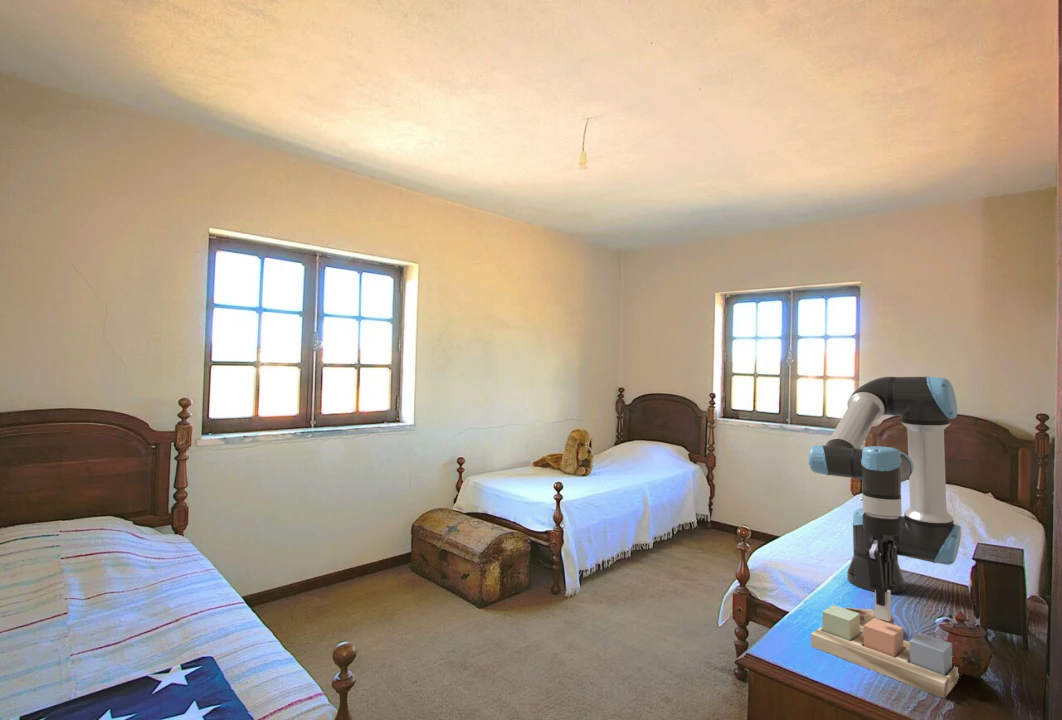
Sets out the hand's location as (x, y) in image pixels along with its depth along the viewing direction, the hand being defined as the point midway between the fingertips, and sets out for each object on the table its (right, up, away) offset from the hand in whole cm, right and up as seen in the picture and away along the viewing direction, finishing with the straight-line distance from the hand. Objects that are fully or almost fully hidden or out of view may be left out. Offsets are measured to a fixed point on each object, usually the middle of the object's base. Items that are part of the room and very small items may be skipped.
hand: (883, 618), depth 122 cm
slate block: (+6, -7, -7) cm, 11 cm away
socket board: (0, -10, 0) cm, 10 cm away
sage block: (-5, -7, +7) cm, 11 cm away
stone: (+7, -10, +15) cm, 19 cm away
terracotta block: (0, -7, 0) cm, 7 cm away
